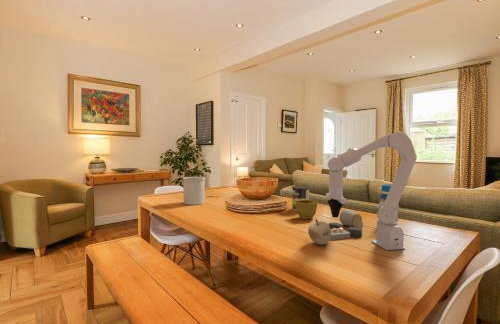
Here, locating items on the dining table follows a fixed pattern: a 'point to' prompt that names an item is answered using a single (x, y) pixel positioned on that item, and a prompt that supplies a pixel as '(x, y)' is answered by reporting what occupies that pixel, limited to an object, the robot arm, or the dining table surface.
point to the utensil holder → (193, 190)
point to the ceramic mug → (350, 218)
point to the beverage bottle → (384, 195)
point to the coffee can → (299, 195)
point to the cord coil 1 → (335, 225)
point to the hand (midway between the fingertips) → (335, 217)
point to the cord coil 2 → (355, 232)
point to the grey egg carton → (339, 234)
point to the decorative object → (320, 232)
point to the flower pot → (306, 208)
